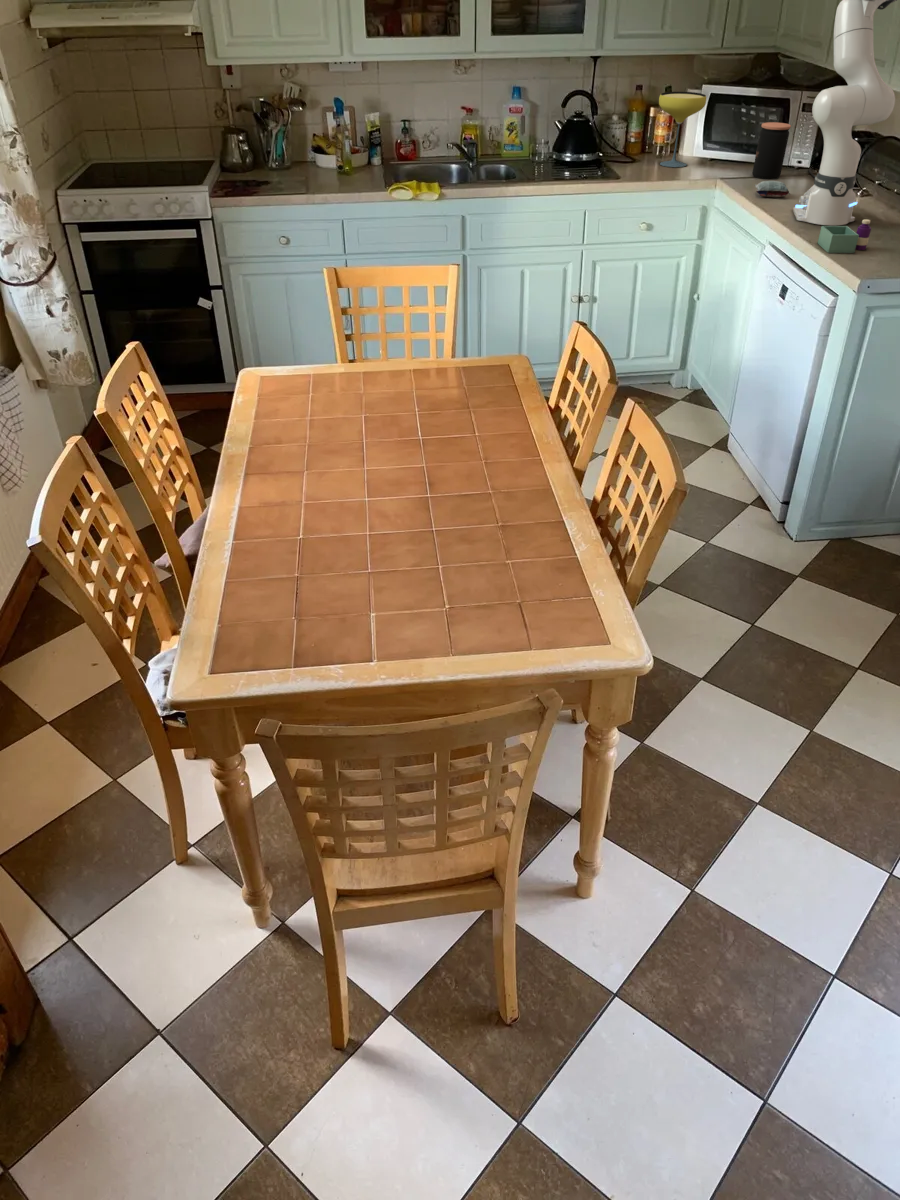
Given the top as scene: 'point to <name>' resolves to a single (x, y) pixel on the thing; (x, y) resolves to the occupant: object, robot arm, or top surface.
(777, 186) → the packaged food
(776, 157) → the coffee jar
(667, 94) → the cocktail glass
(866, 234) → the grape juice bottle
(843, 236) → the bin
